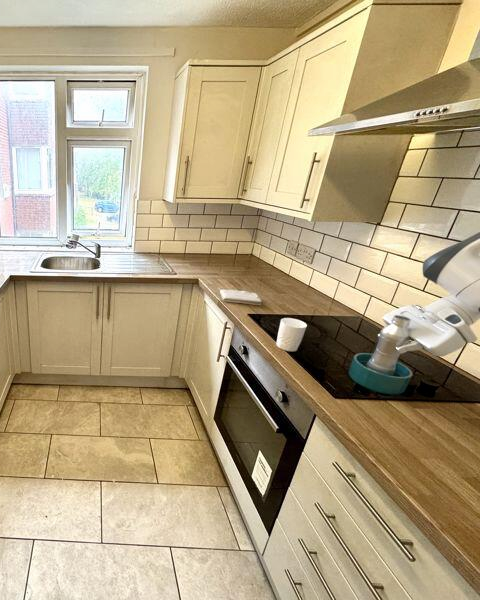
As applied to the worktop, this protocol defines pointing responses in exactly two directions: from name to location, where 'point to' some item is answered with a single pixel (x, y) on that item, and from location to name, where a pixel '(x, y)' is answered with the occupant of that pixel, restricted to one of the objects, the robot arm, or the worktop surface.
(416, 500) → the worktop surface
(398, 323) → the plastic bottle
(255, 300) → the washcloth
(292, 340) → the white cup
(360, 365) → the bowl
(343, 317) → the worktop surface
